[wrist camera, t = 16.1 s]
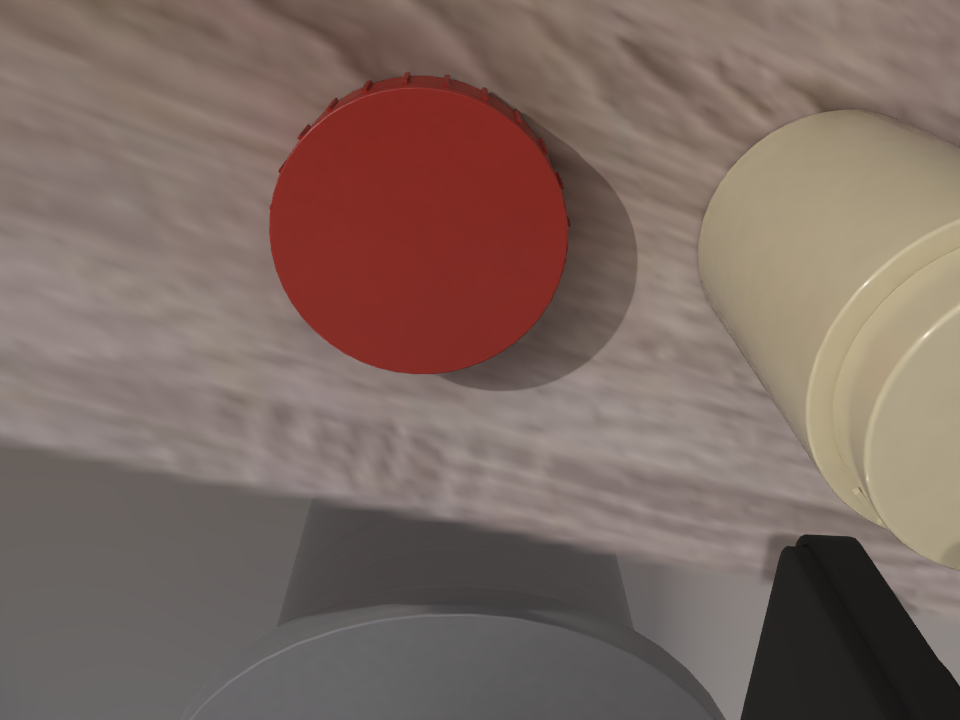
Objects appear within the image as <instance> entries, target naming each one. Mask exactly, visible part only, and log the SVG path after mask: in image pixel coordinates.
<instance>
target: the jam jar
mask: <svg viewBox="0 0 960 720" xmlns="http://www.w3.org/2000/svg"><path fill="white" fill-rule="evenodd" d="M698 264H699V272H700V277H701V282H702V285H703V288H704V291H705V294H706V297H707V299H708V301H709V303H710V305H711V307H712V309H713V310H714V312H715V313H716V315H717V316H718V318H719V319H720V321H721V322H722V324H723V325H724V327H725V329H726V330H727V332H728V333H729V335H730V336H731V338H732V339H733V341H734V342H735V344H736V345H737V347H738V348H739V350H740V351H741V353H742V355H743V356H744V358H745V359H746V361H747V362H748V364H749V365H750V367H751V368H752V370H753V371H754V373H755V374H756V376H757V377H758V379H759V381H760V382H761V384H762V385H763V387H764V388H765V390H766V391H767V393H768V394H769V396H770V397H771V399H772V400H773V402H774V403H775V405H776V407H777V408H778V410H779V411H780V413H781V414H782V416H783V417H784V419H785V420H786V422H787V423H788V425H789V426H790V428H791V429H792V431H793V433H794V434H795V436H796V437H797V439H798V440H799V442H800V443H801V445H802V446H803V448H804V449H805V451H806V452H807V454H808V455H809V457H810V459H811V460H812V462H813V463H814V465H815V466H816V468H817V469H818V471H819V472H820V474H821V475H822V477H823V478H824V480H825V481H826V482H827V484H828V485H829V487H830V488H831V489H832V491H833V492H834V493H835V494H836V495H837V496H838V497H839V498H840V499H841V500H842V501H843V502H844V503H845V504H846V505H847V506H848V507H850V508H851V509H852V510H854V511H855V512H857V513H858V514H859V515H861V516H862V517H864V518H866V519H868V520H869V521H871V522H873V523H875V524H877V525H879V526H881V527H884V528H886V529H887V530H889V531H890V532H891V533H892V534H893V535H894V536H895V537H896V538H897V539H898V540H899V541H900V542H902V543H903V544H904V545H906V546H907V547H908V548H910V549H911V550H912V551H914V552H915V553H917V554H919V555H921V556H923V557H925V558H927V559H929V560H931V561H933V562H935V563H938V564H941V565H943V566H946V567H949V568H952V569H956V570H960V146H958V145H956V144H954V143H951V142H949V141H947V140H944V139H942V138H940V137H938V136H935V135H933V134H931V133H928V132H926V131H924V130H921V129H919V128H917V127H915V126H912V125H910V124H908V123H905V122H903V121H901V120H898V119H896V118H894V117H891V116H888V115H884V114H881V113H877V112H871V111H863V110H837V111H829V112H822V113H819V114H815V115H811V116H807V117H804V118H802V119H799V120H797V121H794V122H792V123H789V124H787V125H785V126H783V127H781V128H779V129H778V130H776V131H774V132H772V133H770V134H769V135H768V136H766V137H765V138H763V139H762V140H761V141H759V142H758V143H756V144H755V145H754V146H753V147H752V148H750V149H749V150H748V151H747V152H746V153H745V154H744V155H743V156H742V157H741V158H740V159H739V160H738V161H737V162H736V163H735V164H734V165H733V167H732V168H731V169H730V170H729V171H728V173H727V174H726V176H725V177H724V178H723V180H722V181H721V183H720V184H719V186H718V187H717V189H716V191H715V193H714V195H713V197H712V199H711V201H710V203H709V205H708V208H707V211H706V213H705V216H704V219H703V223H702V227H701V231H700V237H699V246H698Z"/></svg>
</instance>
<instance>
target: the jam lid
mask: <svg viewBox="0 0 960 720" xmlns="http://www.w3.org/2000/svg"><path fill="white" fill-rule="evenodd" d="M297 138H298V139H299V140H300V141H299V142H298V144H297V145H296V147H295V148H294V149H293V151H292V152H291V154H290V155H289V157H288V158H287V160H286V161H285V162H284V164H283V165H282V166H281V167H280V169H279V173H280V175H279V177H278V181H277V184H276V187H275V190H274V193H273V198H272V204H271V205H270V227H269V234H270V243H271V252H272V256H273V260H274V264H275V268H276V271H277V273H278V276H279V279H280V281H281V284H282V286H283V288H284V290H285V292H286V294H287V295H288V297H289V299H290V301H291V303H292V304H293V306H294V307H295V308H296V310H297V311H298V312H299V314H300V315H301V317H302V318H303V319H304V320H305V321H306V322H307V323H308V324H309V325H310V327H311V328H312V329H313V330H314V331H315V332H316V333H317V334H319V335H320V336H321V337H322V338H323V339H325V340H326V341H327V342H328V343H329V344H331V345H332V346H334V347H335V348H337V349H339V350H340V351H342V352H343V353H345V354H347V355H349V356H351V357H353V358H355V359H357V360H359V361H361V362H363V363H366V364H369V365H372V366H375V367H377V368H381V369H385V370H390V371H394V372H400V373H410V374H436V373H444V372H451V371H455V370H459V369H463V368H467V367H470V366H473V365H475V364H478V363H481V362H483V361H486V360H488V359H489V358H491V357H493V356H495V355H497V354H499V353H501V352H502V351H504V350H505V349H507V348H508V347H509V346H511V345H512V344H514V343H515V342H516V341H518V340H519V339H520V338H521V337H522V336H523V335H524V334H525V333H526V332H527V331H529V330H530V328H531V327H532V326H533V325H534V324H535V323H536V321H537V320H538V319H539V318H540V317H541V315H542V314H543V312H544V311H545V309H546V308H547V306H548V305H549V303H550V302H551V300H552V298H553V295H554V293H555V291H556V289H557V287H558V285H559V282H560V279H561V276H562V273H563V270H564V266H565V263H566V255H567V249H568V227H569V226H570V221H569V219H568V216H567V211H566V207H565V203H564V198H563V194H562V191H561V190H562V189H564V186H563V183H562V181H561V178H560V175H559V173H558V172H556V173H555V172H554V169H553V167H552V164H551V162H550V159H549V157H548V155H547V153H548V151H547V148H546V146H545V143H544V141H543V139H542V138H541V139H538V138H537V137H536V135H535V134H534V133H533V131H532V130H531V129H530V127H529V126H528V125H527V124H526V123H525V122H524V121H523V120H522V119H521V115H520V112H519V111H518V110H517V109H515V111H513V110H512V109H510V108H509V107H508V106H506V105H505V104H504V103H503V102H501V101H500V100H498V99H497V98H495V97H493V96H491V95H490V94H488V91H487V89H486V88H484V87H483V88H482V90H480V89H478V88H475V87H473V86H471V85H468V84H466V83H462V82H459V81H455V80H451V79H450V75H445V78H440V77H433V76H410V72H407V73H405V75H404V77H397V78H390V79H386V80H383V81H379V82H376V83H372V81H371V80H370V81H367V82H366V84H365V85H364V87H363V88H360V89H358V90H356V91H354V92H352V93H350V94H349V95H347V96H345V97H344V98H342V99H341V100H339V101H338V99H337V98H335V99H334V100H333V101H332V102H331V103H330V105H329V106H328V107H327V108H326V111H325V112H324V113H323V114H322V115H321V116H320V117H319V118H318V119H317V120H316V122H315V123H314V124H313V125H312V126H310V125H309V124H308V125H307V126H306V127H305V129H304V130H303V131H302V132H301V134H300V135H299V136H298V137H297Z"/></svg>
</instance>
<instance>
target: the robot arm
mask: <svg viewBox="0 0 960 720" xmlns="http://www.w3.org/2000/svg"><path fill="white" fill-rule="evenodd" d="M741 720H960V686H959V685H958V683H957V682H956V680H955V679H954V678H953V676H952V675H951V673H950V672H949V670H948V669H947V668H946V667H945V666H944V665H943V664H942V663H941V662H940V661H939V659H938V658H937V656H936V655H935V654H934V652H933V651H932V649H931V648H930V646H929V645H928V643H927V642H926V640H925V639H924V637H923V636H922V634H921V633H920V631H919V630H918V628H917V627H916V625H915V624H914V622H913V621H912V619H911V618H910V616H909V615H908V613H907V612H906V611H905V609H904V608H903V606H902V605H901V603H900V602H899V600H898V599H897V597H896V596H895V594H894V593H893V591H892V590H891V588H890V587H889V585H888V584H887V582H886V581H885V579H884V578H883V576H882V575H881V573H880V572H879V571H878V569H877V568H876V566H875V565H874V563H873V562H872V560H871V559H870V557H869V556H868V554H867V553H866V551H865V550H864V548H863V547H862V545H861V544H860V543H859V542H858V541H857V540H856V538H853V537H848V536H827V535H806V534H805V535H803V536H801V537H800V538H799V539H798V541H797V543H796V546H795V547H794V546H787V547H785V548H784V549H783V550H782V552H781V555H780V558H779V562H778V566H777V570H776V574H775V578H774V583H773V587H772V591H771V595H770V599H769V604H768V608H767V612H766V616H765V620H764V624H763V628H762V632H761V636H760V641H759V645H758V649H757V653H756V657H755V661H754V665H753V670H752V674H751V678H750V682H749V686H748V691H747V694H746V698H745V703H744V707H743V711H742V715H741Z"/></svg>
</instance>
